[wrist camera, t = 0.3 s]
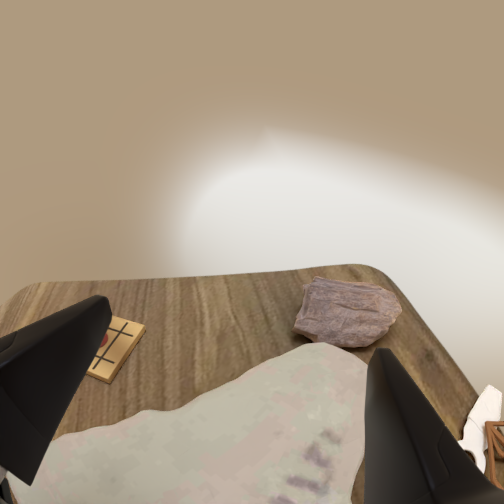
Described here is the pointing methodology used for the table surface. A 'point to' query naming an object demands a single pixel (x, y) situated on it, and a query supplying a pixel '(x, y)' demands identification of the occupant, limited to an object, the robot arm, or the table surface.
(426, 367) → the table surface
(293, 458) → the stone
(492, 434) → the emblem
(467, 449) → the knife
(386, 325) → the rock
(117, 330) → the board
